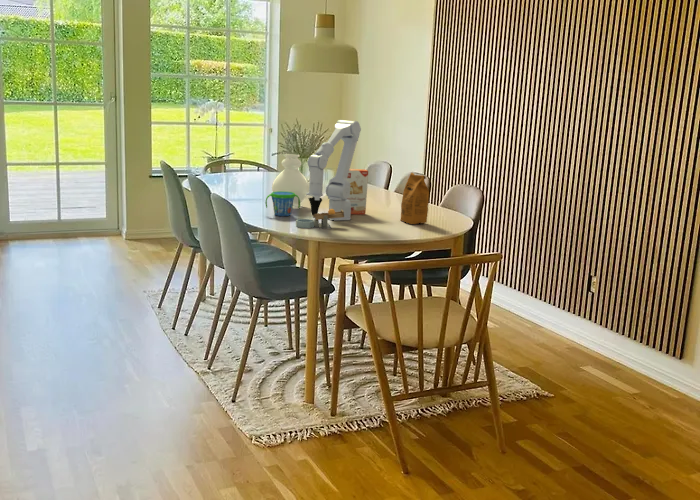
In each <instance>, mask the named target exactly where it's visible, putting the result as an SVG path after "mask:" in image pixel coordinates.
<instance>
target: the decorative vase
mask: <svg viewBox="0 0 700 500" xmlns="http://www.w3.org/2000/svg"><path fill="white" fill-rule="evenodd" d="M283 157H285V158H283V159H282V161H281V163H280V164H281V166H282V167H283V168H284V169H283V170H282V171H281V172H279V174H278V175H276V177H275V179H273V182H272V185H271V191H272V192H277V191H286V192H293V193H295V194H296V195H297V196H298V197H299V199H300V207H299V208H300V209H303V208H304V205H303V204H301V203H302V202H303V200H304V199H306V197H307V196H308V195H306V193H309V182H308V180H307V179H306V176H305V175H304V174H303V173H302V172H301V170H299V168H300V167H301V166H302V161H301V160H300V159H299V158H300V154H295V153H285V154H284V153H283ZM298 197H296V196H295V197H294V200H293V206H292V210H297V209H298V210H299V208H298Z"/></svg>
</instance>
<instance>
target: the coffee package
mask: <svg viewBox="0 0 700 500" xmlns="http://www.w3.org/2000/svg"><path fill="white" fill-rule="evenodd" d="M426 178H427V177H426V176H425V175H424V174H423V175H421V174H419V175H418V174H415V173H414V172H411V173H410V174H409V176H408V179H407V181H406V183H405V186H404V189H403V192H402V193H403V194H402V198H401V203H400V204H401V205H400V208H401V209H400V221H401V222H404V223H405V222H406V223H405V224H407V223H409V224H408V225H412V224H414V225H417V224H418V225H419V223H420V224H425V223H427V222H428V213H429V208H428V206H429V198H430V197H429V195H430V190H429V187H428V186H427V184H426V181H425V179H426Z"/></svg>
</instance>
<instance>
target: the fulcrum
mask: <svg viewBox="0 0 700 500" xmlns="http://www.w3.org/2000/svg"><path fill="white" fill-rule="evenodd" d="M313 220H314V226H315V227H314V228H319V229H320V228H331V229H332V226H331V225H330V223H328V221H329V219H328V216H324V219H320V220H321V221H320V220H316V219H315V218H314V219H313ZM319 221H320V222H319Z"/></svg>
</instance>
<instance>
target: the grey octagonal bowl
mask: <svg viewBox="0 0 700 500" xmlns="http://www.w3.org/2000/svg"><path fill="white" fill-rule="evenodd" d="M295 227H297V228H301V229H311V227H312V228H315V227H314V219H310V218H298V219H295Z"/></svg>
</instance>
